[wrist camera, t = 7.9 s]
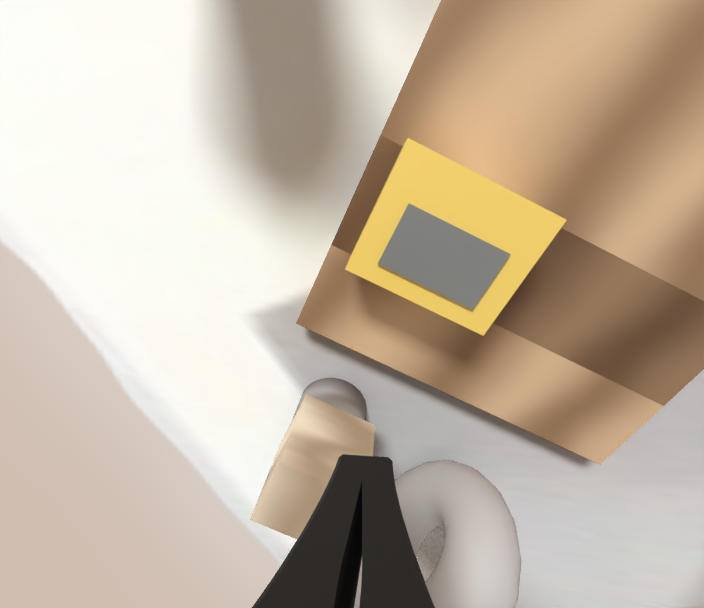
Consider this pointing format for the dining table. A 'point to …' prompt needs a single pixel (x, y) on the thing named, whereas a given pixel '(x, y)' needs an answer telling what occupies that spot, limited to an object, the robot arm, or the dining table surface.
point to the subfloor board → (560, 198)
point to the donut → (461, 535)
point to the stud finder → (450, 238)
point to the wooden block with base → (313, 453)
